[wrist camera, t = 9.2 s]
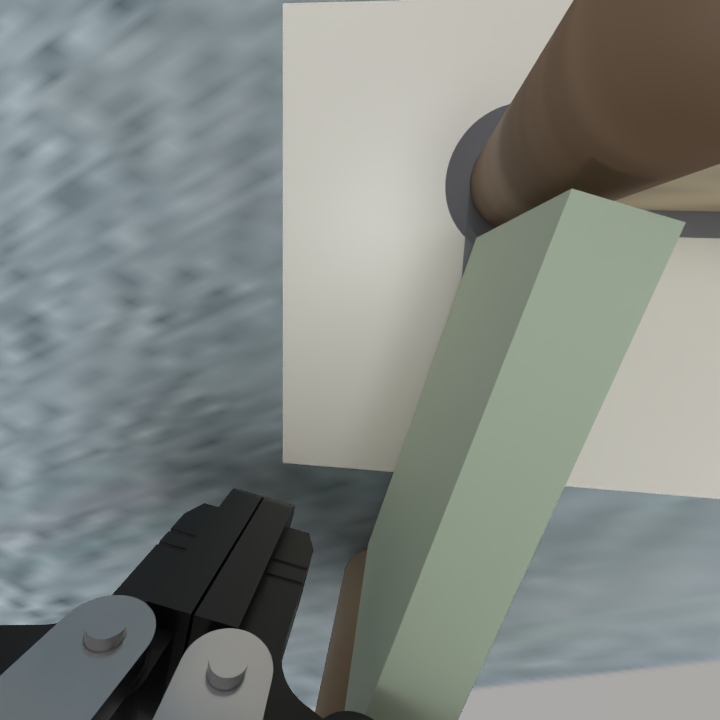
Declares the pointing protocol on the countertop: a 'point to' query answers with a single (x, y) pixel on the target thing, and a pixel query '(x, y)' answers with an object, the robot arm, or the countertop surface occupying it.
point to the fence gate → (490, 451)
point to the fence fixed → (613, 113)
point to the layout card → (449, 243)
